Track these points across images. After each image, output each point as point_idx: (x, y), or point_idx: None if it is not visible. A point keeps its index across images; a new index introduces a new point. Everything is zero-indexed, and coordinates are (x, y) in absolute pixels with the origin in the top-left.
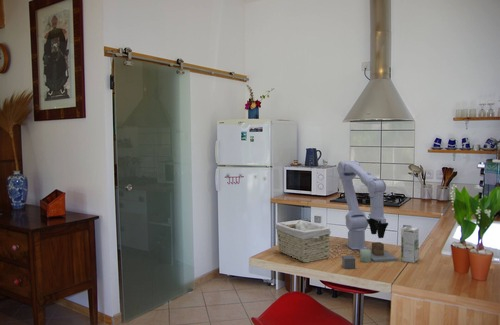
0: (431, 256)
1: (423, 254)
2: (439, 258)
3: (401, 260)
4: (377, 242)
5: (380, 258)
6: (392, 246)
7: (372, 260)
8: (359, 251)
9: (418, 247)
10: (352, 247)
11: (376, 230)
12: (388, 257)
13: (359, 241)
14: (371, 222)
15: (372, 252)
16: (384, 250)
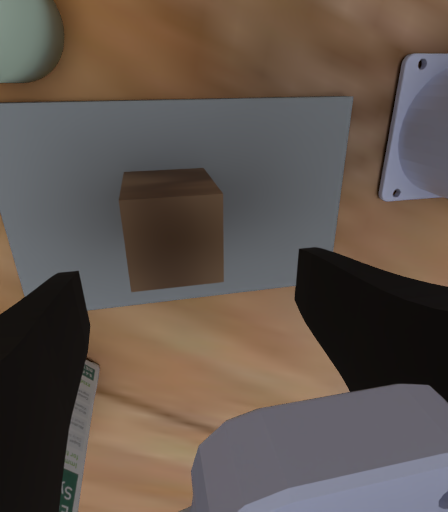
0: (129, 482)
1: (174, 459)
2: (86, 505)
3: None
4: (217, 255)
5: (23, 183)
6: None
7: (16, 102)
8: (330, 96)
9: None
10: (443, 70)
11: (317, 332)
12: (59, 258)
13: (444, 136)
14: (418, 355)
15: (191, 171)
16: (264, 288)
